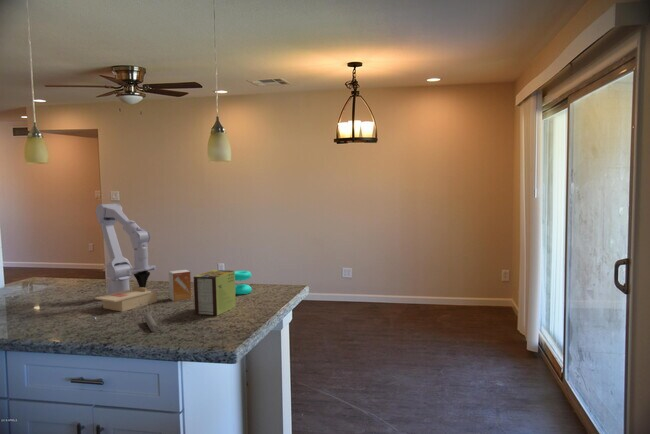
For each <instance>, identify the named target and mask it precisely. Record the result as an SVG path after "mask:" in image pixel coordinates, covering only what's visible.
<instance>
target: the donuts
mask: <svg viewBox="0 0 650 434" xmlns="http://www.w3.org/2000/svg"><path fill="white" fill-rule="evenodd" d="M234 271H235V282H236V281H239V282H240V281H242V282H243V281H246V280H249V279H250V278H251V277H252V273H251V271H249V270H234ZM252 291H253V289H252V287H251V286H250V285H249V284H246V283H245V284H235V296H241V295H242V294H244V295H248V294H250V293H252Z"/></svg>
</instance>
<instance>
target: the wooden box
mask: <svg viewBox="0 0 650 434" xmlns="http://www.w3.org/2000/svg"><path fill="white" fill-rule="evenodd" d="M150 291H151V293H149V294H145V295H141V296H137V297H133V298H129V299H125V300H122V301H118V302H111V301H104V300H102V307H103V309H106V310H111V311H118V312H126V311H128V310H132V309H135V308H136V307H137V306H138V307H137V308H141V307H144V306H148V305H150V304H151V305H152V304H154V303H157V302H158V294H157V291H153V290H150ZM144 299H145V300H146V301H145V300H144ZM139 301H140V302H139ZM142 301H143V302H142ZM146 302H148V303H146ZM140 303H142V304H141V305H142V306H139V305H140ZM143 303H144V304H143ZM134 304H135V306H134ZM143 305H144V306H143Z"/></svg>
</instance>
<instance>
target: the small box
mask: <svg viewBox="0 0 650 434" xmlns="http://www.w3.org/2000/svg"><path fill="white" fill-rule="evenodd" d="M191 279H192V277H191V271H190V270H188V269H181V270H180V269H179V270H171V271H168V286H169V287H168V293H169V300H172V302H177V301H184V300H185V301H186V300H192V282H191Z"/></svg>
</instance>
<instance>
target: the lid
mask: <svg viewBox="0 0 650 434" xmlns="http://www.w3.org/2000/svg"><path fill="white" fill-rule="evenodd" d="M151 291H152V290H148V287H145V288H144V287H139V286H135V285H133V286H132V288H129V290H125V291H120V292H116V293H112V294H108V293H107V294H104V295H100V296H95V297H94V300H98V301H99V300H100V301H103V300H104V301H111V302H118V301H122V300H125V299H129V298H133V297H137V296H141V295H145V294H149V293H151Z"/></svg>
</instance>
